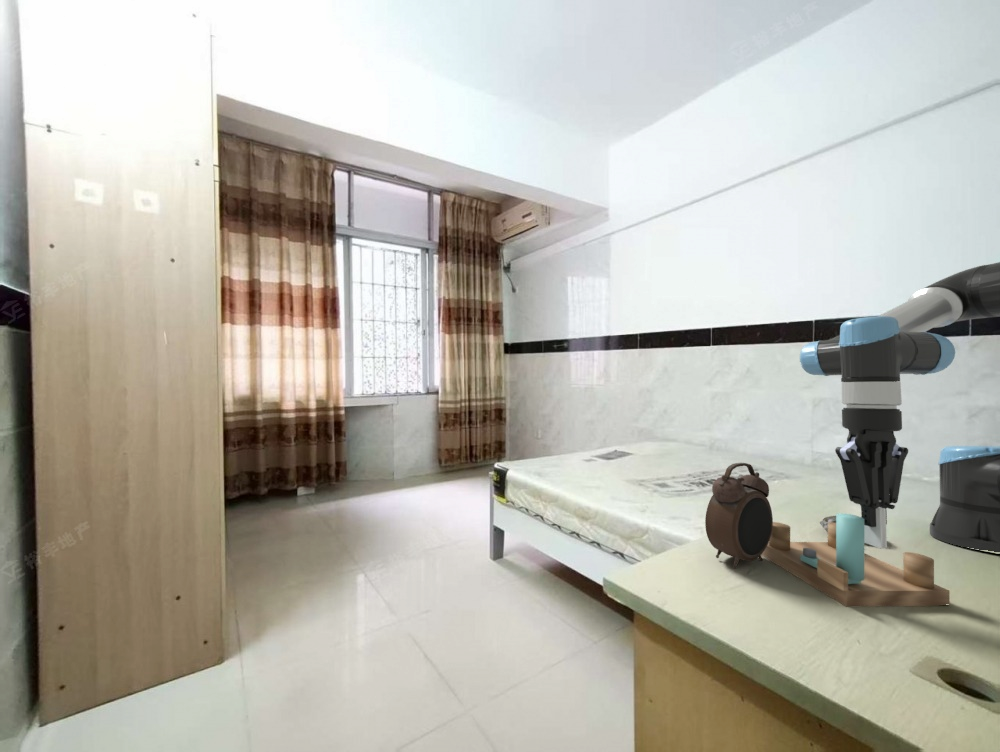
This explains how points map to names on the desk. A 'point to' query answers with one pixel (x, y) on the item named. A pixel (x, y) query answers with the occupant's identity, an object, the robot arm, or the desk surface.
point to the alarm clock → (739, 515)
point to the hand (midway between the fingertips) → (874, 545)
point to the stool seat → (879, 577)
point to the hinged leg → (845, 547)
